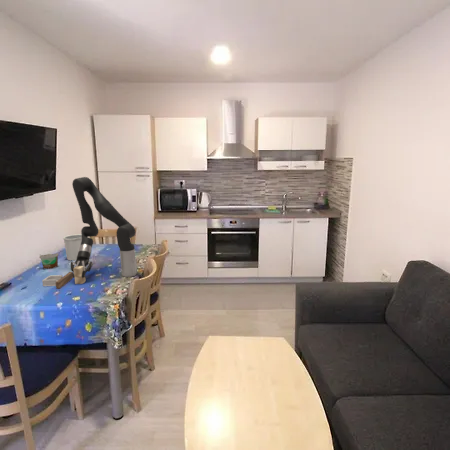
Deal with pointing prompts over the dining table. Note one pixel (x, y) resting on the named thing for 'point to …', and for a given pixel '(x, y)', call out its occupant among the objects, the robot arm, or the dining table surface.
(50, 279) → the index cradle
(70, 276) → the rail
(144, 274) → the dining table surface
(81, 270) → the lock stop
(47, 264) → the food container
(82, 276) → the robot arm
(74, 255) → the utensil holder
